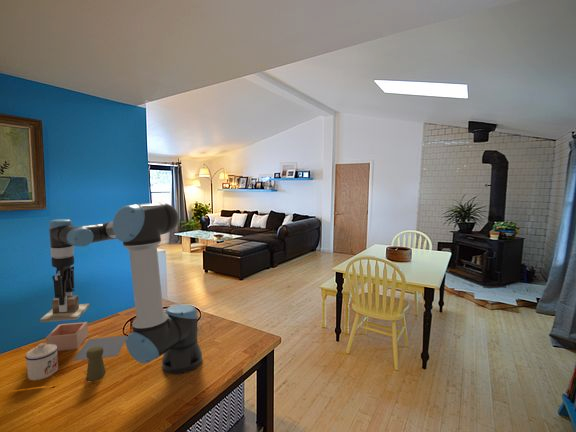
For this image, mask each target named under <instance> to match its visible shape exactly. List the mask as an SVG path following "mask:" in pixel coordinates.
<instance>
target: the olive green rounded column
mask: <svg viewBox="0 0 576 432" xmlns="http://www.w3.org/2000/svg"><path fill="white" fill-rule="evenodd" d="M102 354H103V348H102V347H101V346H94V347H92V348H90V349H89V350H88V351H87V354H86V356H87V358H88V359H87V360H88V361H87V368H86V369H87V370H86V379H87V380H86V381H88V382H97V381H99V380H101V379H102V377H104V376H105V374H106V373H107V372H106V367H105V363H104V359H103V358H104V357H103V358H102Z"/></svg>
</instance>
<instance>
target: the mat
mask: <svg viewBox="0 0 576 432" xmlns="http://www.w3.org/2000/svg"><path fill="white" fill-rule="evenodd" d="M126 336H127V335H120V336H119V335H117V336H109V337H108V336H107V337H98V338H95V337H94V338H88V339H87V341H86V342H85V344H84V345H83V346H82V348H81V349H80V350H79V351H78V353H77V354H76V355H75V357H74V358H73V359H72V361H73V362H74V361H75V362H76V361H83V360H88V358H87V356H86V354H87V351H88V350H89V349H90V348H92V347H94V346H101V347H102V348H103V354H102V358H110V357H117V356H119V355H120V354H119V353H121V350H122V348H123V347H124V344H126V338H127V337H126Z"/></svg>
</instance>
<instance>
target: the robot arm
mask: <svg viewBox="0 0 576 432" xmlns="http://www.w3.org/2000/svg"><path fill="white" fill-rule="evenodd" d="M178 223H179V214H178V211H177V210H176V208H174V206H172V205H171V204H168V203H164V202H155V203H137V204H136V203H134V204H129V205H124V206H123V207H120V208H119V209H118V210H117V212H116V213H115V214H114V216H113V221H108V222H103V223H97V224H89V225H88V224H87V225H80V226H74V225H73V222H72V220H71V219H67V218H61V219H53V220H50V221H49V223H48V224H49V226H48V227H49V228H48V232H49V242H50V249H49V251H50V254H51V260H50V261H51V267H52V268H55V269H56V270H55V275H52V277H51V278H52V281H53V289H54V291H53V292H54V298H58V300H59V312H67V311H68V309H67V296H73V292H75V266H74V265H75V255H74V254H75V252H74V251H75V249H74V248H75V247H79V248H81V247H87V246H89V245H90V244H94V243H98V242H102V241H103V242H104V241H110V240H111V241H112V240H116V239H117V240H118V241H120V242H122V245H123V247H124V248H126V250H128V251H129V261H130V262H129V263H130V269H131V280H132V288H133V289H132V290H133V297H134V298H133V299H134V305H135V319H134V320H133V322H132V324H131V326H132V332H130V333H129V334H128V336H127V335H126V336H127V338H126V341H125V346H126V350H127V351H128V353H129V355H130V356H131V357H132V358H133V359H134V361H136V362H138V363H141V364H149V363H151V362H153V361H154V360H157V359H159V358H160V357H161V356H162V355H163V356H162V359H161V360H162V361H161V367H162V370H163V371H164V372H166V373H168V374H172V375H181V374H186V373H189V372H192V371H193V370H195V369H196V368H198V367H199V366H200V365H201V363H202V361H203V353H202V349H201V347H200V345H199V342H198V317H199V316H198V310H197V308H196V306H195V307H194V306H193V305H190V304H182V303H181V304H175V305H171V306H170V305H169V306H168V307H167V308H166V310H165V311H164V305H163V296H162V295H163V294H162V286H161V276H160V275H161V274H160V268H159V267H160V265H159V256H158V255H159V254H158V246H159V244H160V243H161V242H162V237H161V236H162V235H165V234H168V233H170V232H172V231H173V230H174V229H176V227H178Z"/></svg>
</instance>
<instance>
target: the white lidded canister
mask: <svg viewBox="0 0 576 432" xmlns="http://www.w3.org/2000/svg"><path fill="white" fill-rule="evenodd" d="M57 349H58V347H57V346H56V345H54V344H46V342H44V343H43V342H41V343H39V344H38V345H37V346H36V347H33V348H32V349H30V350H28V351H27V352H26V353H25V357H24V358H25V359H26V360H25V361H26V370H27V372H26V373H27V379H28V380H30V381H38V380H43V379H46V378H48V377H51V376H52V375H54V374H55V373H56V372H58V371H59V370H58V369H59V361H58V360H59V358H58V351H57Z"/></svg>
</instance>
